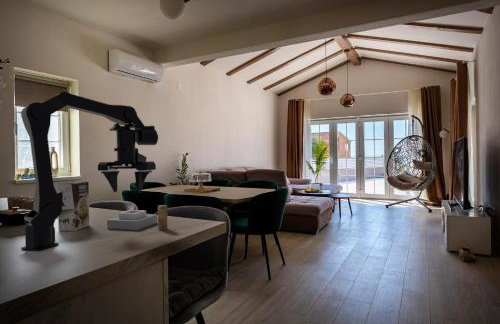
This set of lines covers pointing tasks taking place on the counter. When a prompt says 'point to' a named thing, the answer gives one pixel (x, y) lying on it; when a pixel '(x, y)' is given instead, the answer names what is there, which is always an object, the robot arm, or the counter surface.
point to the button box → (132, 220)
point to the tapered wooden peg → (162, 217)
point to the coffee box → (74, 206)
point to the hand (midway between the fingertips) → (127, 192)
